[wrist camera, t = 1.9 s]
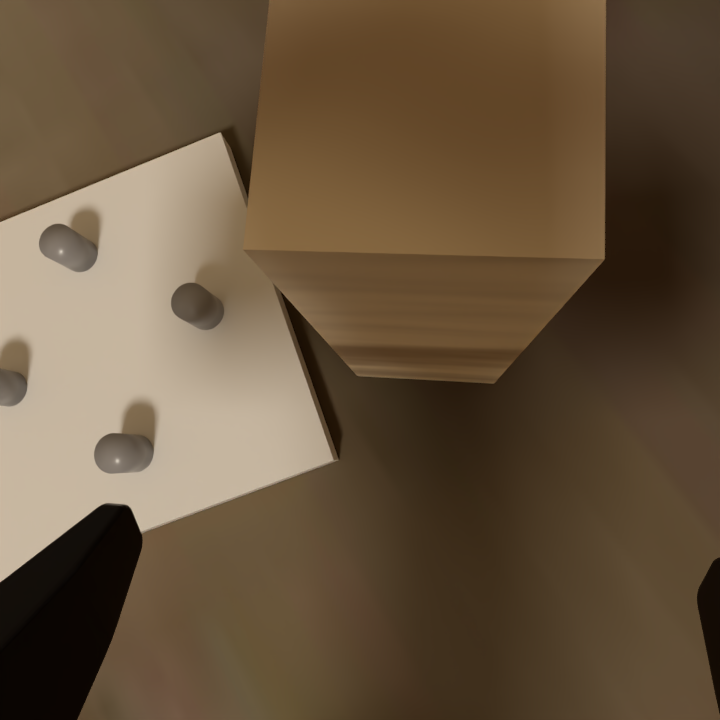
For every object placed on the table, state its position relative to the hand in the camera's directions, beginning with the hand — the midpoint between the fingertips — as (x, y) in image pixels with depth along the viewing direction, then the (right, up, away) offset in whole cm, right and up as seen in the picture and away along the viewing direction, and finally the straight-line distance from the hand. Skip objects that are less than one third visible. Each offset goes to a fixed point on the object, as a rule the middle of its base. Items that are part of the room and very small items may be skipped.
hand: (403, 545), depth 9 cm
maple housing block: (+2, +5, +13) cm, 14 cm away
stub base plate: (-10, +3, +15) cm, 18 cm away
